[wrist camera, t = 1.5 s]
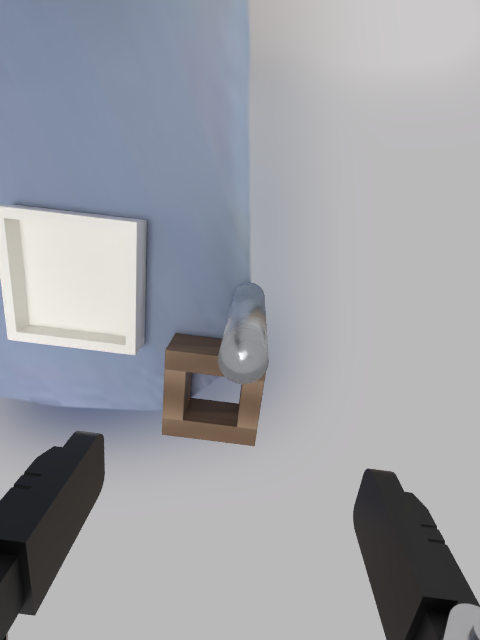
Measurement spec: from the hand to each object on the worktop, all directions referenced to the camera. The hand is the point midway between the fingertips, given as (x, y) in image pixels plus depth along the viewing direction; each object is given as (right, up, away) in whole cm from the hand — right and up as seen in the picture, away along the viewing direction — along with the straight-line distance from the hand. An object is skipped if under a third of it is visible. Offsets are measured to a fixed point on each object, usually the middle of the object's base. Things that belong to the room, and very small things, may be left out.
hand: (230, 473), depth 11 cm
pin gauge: (+1, +7, +19) cm, 20 cm away
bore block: (-2, -1, +21) cm, 21 cm away
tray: (-13, +8, +19) cm, 24 cm away
